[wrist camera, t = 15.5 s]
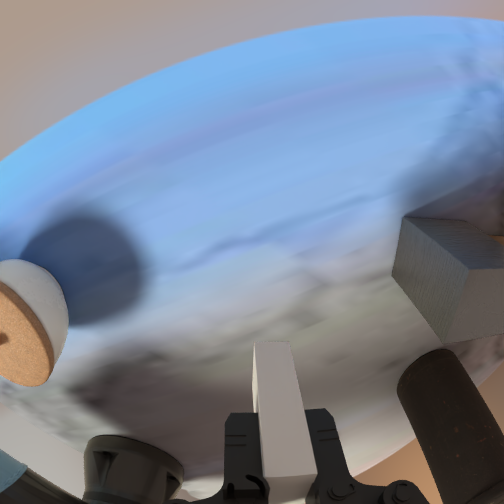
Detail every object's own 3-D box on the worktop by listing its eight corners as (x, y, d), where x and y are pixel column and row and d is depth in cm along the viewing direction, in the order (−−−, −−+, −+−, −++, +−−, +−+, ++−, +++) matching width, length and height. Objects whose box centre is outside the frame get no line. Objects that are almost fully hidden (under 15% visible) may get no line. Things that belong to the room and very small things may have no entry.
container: (388, 408, 33) (437, 548, 15) (399, 357, 30) (474, 522, 11) (447, 390, 33) (508, 511, 14) (464, 338, 29) (553, 472, 11)
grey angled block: (391, 275, 26) (443, 344, 17) (402, 216, 23) (469, 269, 15) (452, 274, 26) (510, 332, 17) (465, 221, 24) (534, 267, 15)
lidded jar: (23, 217, 23) (-45, 262, 14) (105, 299, 26) (60, 370, 18) (-9, 286, 26) (-60, 334, 17) (59, 352, 29) (22, 413, 20)
